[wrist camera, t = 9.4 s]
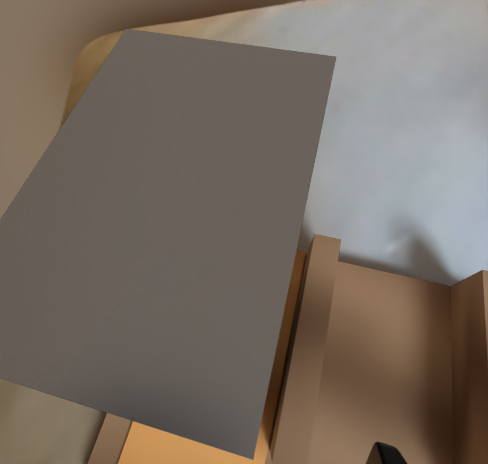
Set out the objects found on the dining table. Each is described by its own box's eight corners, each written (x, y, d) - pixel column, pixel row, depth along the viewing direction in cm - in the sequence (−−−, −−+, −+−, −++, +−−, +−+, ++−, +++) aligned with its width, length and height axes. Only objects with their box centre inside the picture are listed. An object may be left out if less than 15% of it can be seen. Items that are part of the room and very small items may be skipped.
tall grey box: (256, 403, 14) (253, 460, 3) (170, 377, 14) (-86, 350, 4) (284, 274, 16) (336, 57, 6) (209, 257, 17) (126, 28, 6)
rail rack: (709, 715, 11) (901, 855, 7) (87, 488, 14) (36, 517, 11) (621, 332, 16) (713, 319, 13) (183, 233, 19) (168, 202, 16)
